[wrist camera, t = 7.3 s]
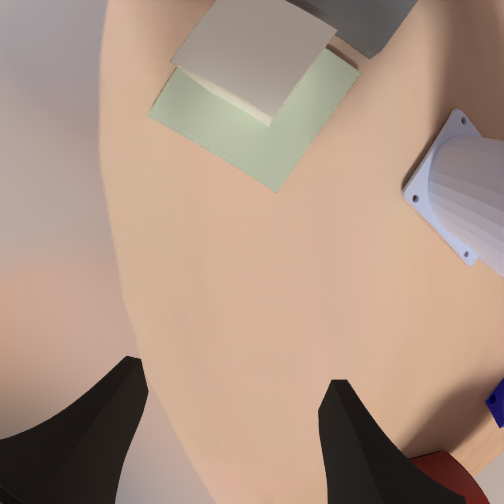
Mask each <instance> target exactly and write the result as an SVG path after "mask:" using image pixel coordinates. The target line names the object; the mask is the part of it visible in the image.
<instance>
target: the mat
mask: <svg viewBox="0 0 504 504" xmlns="http://www.w3.org/2000/svg"><path fill="white" fill-rule="evenodd" d="M360 74H361V73H360V72H359V71H358V70H356V69H355V68H354V67H352V66H351V65H349V64H348V63H347V62H345V61H344V60H342V59H341V58H340V57H338V56H337V55H335V54H334V53H332V52H331V51H329V50H328V49H326V48H324V50H323V51H322V53H321V54H320V56H319V57H318V58H317V60H316V61H315V63H314V64H313V65H312V67H311V68H310V70H309V71H308V73H307V74H306V75H305V77H304V78H303V79H302V81H301V82H300V83H299V85H298V86H297V88H296V89H295V90H294V92H293V93H292V95H291V96H290V97H289V99H288V100H287V102H286V103H285V104H284V106H283V107H282V109H281V110H280V111H279V113H278V114H277V116H276V117H275V119H274V120H273V121H272V123H271V124H270V126H268V125H267V124H265V123H263V122H262V121H260V120H259V119H257V118H255V117H254V116H252V115H250V114H249V113H247V112H245V111H244V110H242V109H240V108H238V107H237V106H235V105H233V104H231V103H230V102H228V101H226V100H224V99H222V98H221V97H219V96H217V95H215V94H213V93H211V92H210V91H208V90H207V89H206V88H204V87H203V86H202V85H200V84H199V83H198V82H197V81H195V80H194V79H193V78H191V77H190V76H189V75H187V74H186V73H185V72H183V71H182V70H181V69H179V68H178V67H177V68H176V70H175V71H174V73H173V74H172V76H171V77H170V79H169V81H168V82H167V84H166V85H165V87H164V89H163V90H162V92H161V94H160V95H159V97H158V99H157V100H156V102H155V104H154V106H153V107H152V109H151V111H150V113H149V114H148V116H147V117H149V118H151V119H153V120H155V121H157V122H159V123H161V124H162V125H164V126H166V127H168V128H170V129H171V130H173V131H175V132H177V133H179V134H180V135H182V136H184V137H186V138H188V139H189V140H191V141H193V142H195V143H196V144H198V145H200V146H201V147H203V148H205V149H207V150H208V151H210V152H212V153H213V154H215V155H217V156H218V157H220V158H222V159H223V160H225V161H227V162H228V163H230V164H232V165H233V166H235V167H237V168H238V169H240V170H241V171H243V172H245V173H246V174H248V175H249V176H251V177H253V178H254V179H256V180H257V181H259V182H261V183H262V184H264V185H265V186H267V187H268V188H270V189H271V190H273V191H275V192H276V193H277V192H278V190H279V189H280V188H281V186H282V185H283V183H284V182H285V180H286V179H287V177H288V176H289V175H290V173H291V172H292V170H293V169H294V167H295V166H296V164H297V163H298V162H299V160H300V159H301V157H302V156H303V154H304V153H305V151H306V150H307V149H308V147H309V146H310V144H311V143H312V141H313V140H314V139H315V137H316V136H317V134H318V133H319V131H320V130H321V129H322V127H323V126H324V124H325V123H326V121H327V120H328V119H329V117H330V116H331V114H332V113H333V112H334V110H335V109H336V107H337V106H338V104H339V103H340V102H341V100H342V99H343V97H344V96H345V95H346V93H347V92H348V90H349V89H350V88H351V86H352V85H353V83H354V82H355V81H356V79H357V78H358V76H359V75H360Z"/></svg>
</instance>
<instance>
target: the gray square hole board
mask: <svg viewBox="0 0 504 504" xmlns="http://www.w3.org/2000/svg"><path fill="white" fill-rule="evenodd" d="M285 1H287V2H289V3H291V4H293V5H295V6H297V7H299V8H301V9H303V10H304V11H306V12H308V13H310V14H312V15H313V16H315V17H317V18H318V19H320V20H322V21H323V22H325V23H327V24H328V25H330V26H332V27H333V28H335V29H336V30H338V31H337V32H336V33H335V35H336V36H338V37H339V38H341V39H342V40H344V41H345V42H347V43H348V44H350V45H351V46H353V47H354V48H355V49H357V50H358V51H359V52H361V53H362V54H364V55H365V56H366V57H368V58H369V59H370V58H371V57H373V56H374V55H376V54H378V53H379V52H381V51H382V49H383V48H384V47H385V45H386V44H387V42H388V41H389V40H390V38H391V37H392V35H393V34H394V33H395V31H396V30H397V29H398V27H399V26H400V24H401V23H402V22H403V20H404V19H405V18H406V16H407V15H408V13H409V12H410V11H411V9H412V8H413V7H414V5H415V4H416V2H417V1H418V0H285Z"/></svg>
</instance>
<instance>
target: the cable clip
mask: <svg viewBox="0 0 504 504" xmlns="http://www.w3.org/2000/svg"><path fill="white" fill-rule="evenodd" d="M486 404H487V406H488V408H489V410H490V411H491V413H492V415H493V417H494V419H495V421H496V423H497V424H498V426H499V428H501V427H504V378H503V380H502V381H501V382H500V384H499V385H498V386H497V388H496V389H495V390H494V392H493V393H492V394H491V395H490V397H489V398H488V399H487V400H486Z"/></svg>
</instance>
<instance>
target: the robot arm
mask: <svg viewBox="0 0 504 504" xmlns="http://www.w3.org/2000/svg"><path fill="white" fill-rule="evenodd" d="M461 119H463V123H462V121H461ZM414 195H416V199H415V201H413V200H412V198H413V196H414ZM402 196H403V198H404V199H405V200H406V201H407V202H408V203H409V204H410V205H411V206H412V207H413V208H414V209H415V210H416V211H418V212H419V213H420V214H421V215H422V216H423V217H424V218H425V219H426V220H427V221H428V222H429V223H430V225H431V226H432V227H433V228H434V229H435V230H436V231H437V232H438V233H439V234H440V235H441V236H442V237H443V238H444V239H445V240H446V241H447V243H448V244H449V245H450V246H451V247H452V248H453V249H454V250H455V252H456V253H457V254H458V255H459V256H460V257H461V258H462V260H463V261H464V262H465V263H466V264H467V265H468V266H472V265H473V264H474V263H475V262H476V260H477V259H478V258H479V259H480V260H481V261H483V262H484V263H485V264H486V265H488V266H489V267H490V268H492V269H493V270H494V271H495V272H497V273H498V274H499V275H500V276H501V277H503V278H504V141H503V140H496V139H490V138H483V137H482V136H481V134H480V133H479V132H478V130H477V129H476V128H475V126H474V125H473V124H472V122H471V121H470V120H469V119H468V117H467V116H466V115H465V114H464V113H463V111H462V110H461V109H454V110H453V111H452V113H451V114H450V116H449V118H448V119H447V121H446V123H445V125H444V126H443V128H442V130H441V131H440V133H439V135H438V136H437V138H436V139H435V141H434V143H433V144H432V146H431V147H430V149H429V151H428V152H427V154H426V155H425V157H424V158H423V160H422V161H421V163H420V165H419V166H418V168H417V169H416V171H415V172H414V174H413V175H412V177H411V178H410V179H409V181H408V182H407V184H406V185H405V187H404V188H403V190H402ZM465 252H466V254H465ZM464 254H465V255H464ZM148 392H149V391H148V387H147V383H146V379H145V375H144V370H143V366H142V361H141V359H139V358H134V357H130V356H126V357H125V358H123V359H122V360H121V361H120V362H119V363H118V364H117V365H116V366H115V367H114V368H113V369H112V370H111V371H110V372H109V373H108V374H106V376H104V377H103V378H102V379H101V380H100V381H99V382H98V383H96V384H95V385H94V386H93V387H92V388H91V389H90V390H89V391H87V392H86V393H85V394H84V395H82V396H81V397H80V398H79V399H77V400H76V401H75V402H74V403H72V404H71V405H70V406H68V407H67V408H66V409H64V410H62V411H61V412H59V413H58V414H57V415H55V416H53V417H52V418H50V419H48V420H46V421H45V422H43V423H41V424H39V425H37V426H36V427H33V428H31V429H29V430H26V431H24V432H21V433H19V434H17V435H14V436H11V437H9V438H5V439H1V440H0V504H115V498H116V493H117V488H118V483H119V478H120V474H121V470H122V466H123V463H124V460H125V456H126V454H127V451H128V449H129V446H130V444H131V441H132V439H133V437H134V434H135V432H136V429H137V427H138V424H139V422H140V419H141V417H142V414H143V411H144V407H145V404H146V400H147V396H148ZM318 418H319V435H320V441H321V447H322V453H323V459H324V465H325V472H326V478H327V491H328V504H467V503H466V500H465V497H463V496H461V495H459V494H457V493H455V492H453V491H451V490H449V489H448V488H446V487H444V486H443V485H441V484H439V483H438V482H436V481H435V480H433V479H432V478H431V477H429V476H428V475H427V474H425V473H424V472H423V471H422V470H420V469H419V468H418V467H417V466H415V465H414V464H413V463H412V462H411V461H410V460H409V459H408V458H407V457H406V456H405V455H404V454H403V453H402V452H401V451H400V450H399V449H398V448H397V447H396V446H395V445H394V444H393V443H392V442H391V440H390V439H389V438H388V437H387V436H386V434H385V433H384V432H383V431H382V429H381V428H380V427H379V426H378V424H377V423H376V422H375V420H374V419H373V417H372V416H371V415H370V413H369V412H368V410H367V409H366V408H365V406H364V405H363V403H362V402H361V400H360V399H359V397H358V396H357V394H356V393H355V391H354V390H353V388H352V386H351V385H350V383H349V382H348V381H347V380H331V382H330V385H329V387H328V390H327V392H326V394H325V396H324V399H323V401H322V403H321V405H320V407H319V410H318Z"/></svg>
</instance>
